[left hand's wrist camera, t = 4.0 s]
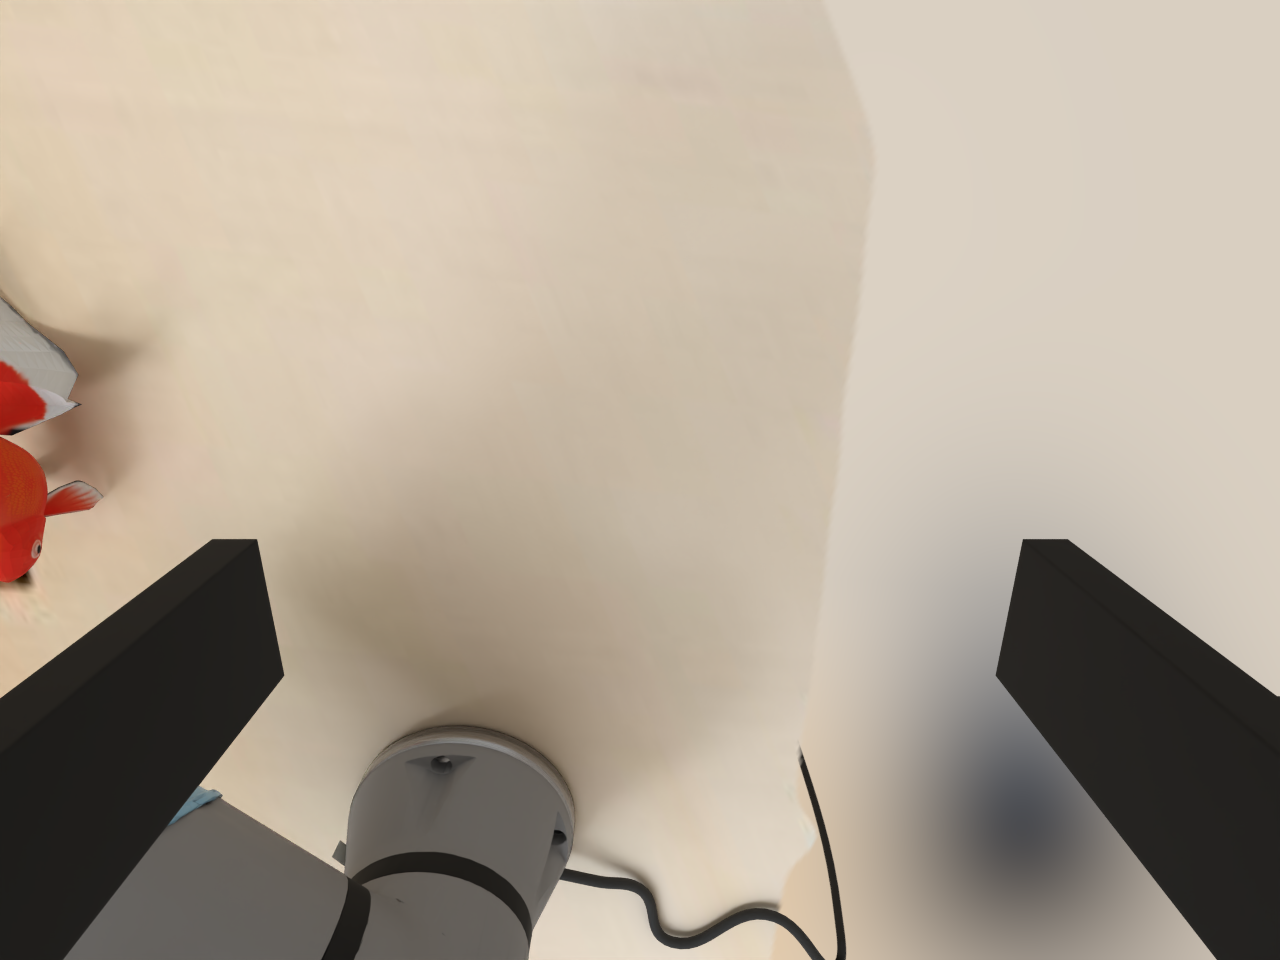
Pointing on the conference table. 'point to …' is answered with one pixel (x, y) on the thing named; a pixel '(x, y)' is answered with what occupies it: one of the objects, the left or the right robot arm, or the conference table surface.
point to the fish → (7, 474)
